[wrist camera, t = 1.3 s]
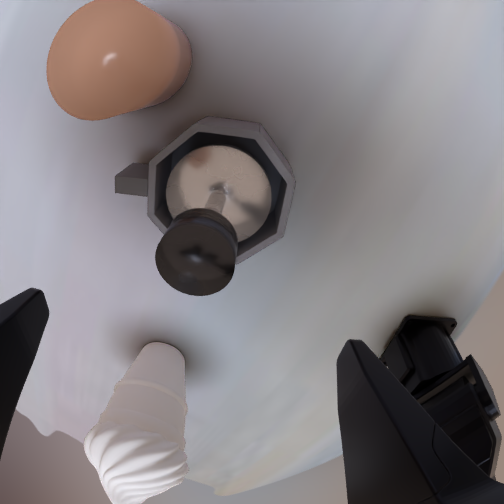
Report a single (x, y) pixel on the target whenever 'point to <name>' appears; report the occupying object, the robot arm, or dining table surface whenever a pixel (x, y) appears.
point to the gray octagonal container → (204, 133)
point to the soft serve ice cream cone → (143, 428)
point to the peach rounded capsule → (116, 60)
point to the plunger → (211, 216)
